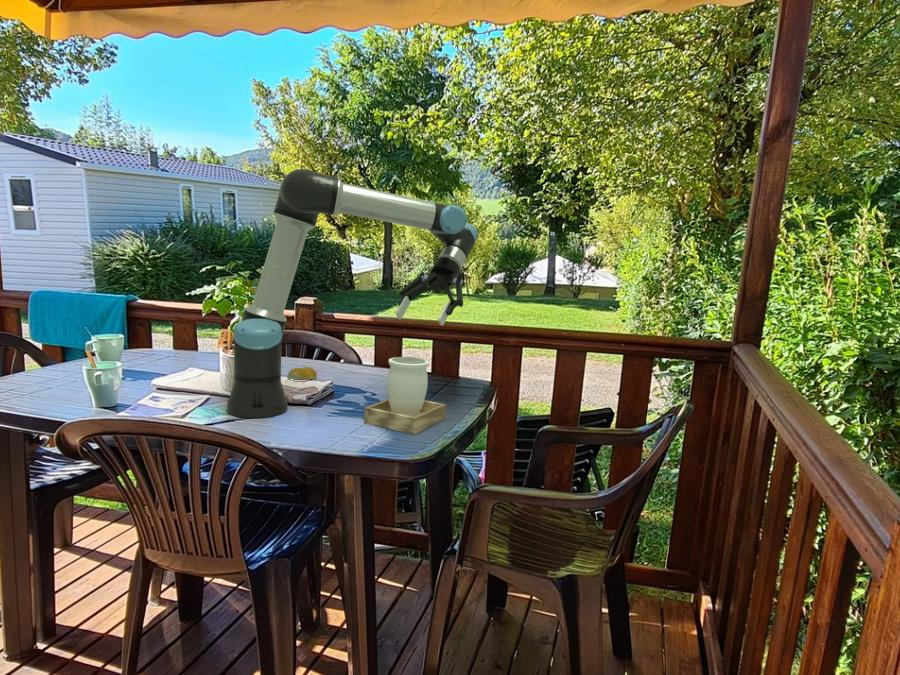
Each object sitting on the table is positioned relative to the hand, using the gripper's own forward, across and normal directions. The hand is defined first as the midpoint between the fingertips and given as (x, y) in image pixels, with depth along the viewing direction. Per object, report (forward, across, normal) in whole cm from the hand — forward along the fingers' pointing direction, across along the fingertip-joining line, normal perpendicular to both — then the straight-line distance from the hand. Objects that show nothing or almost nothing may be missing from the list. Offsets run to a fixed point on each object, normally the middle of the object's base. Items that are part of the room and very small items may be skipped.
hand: (418, 319), depth 160 cm
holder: (+26, -5, -9) cm, 28 cm away
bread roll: (+15, +46, -22) cm, 53 cm away
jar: (+26, -5, -9) cm, 27 cm away
